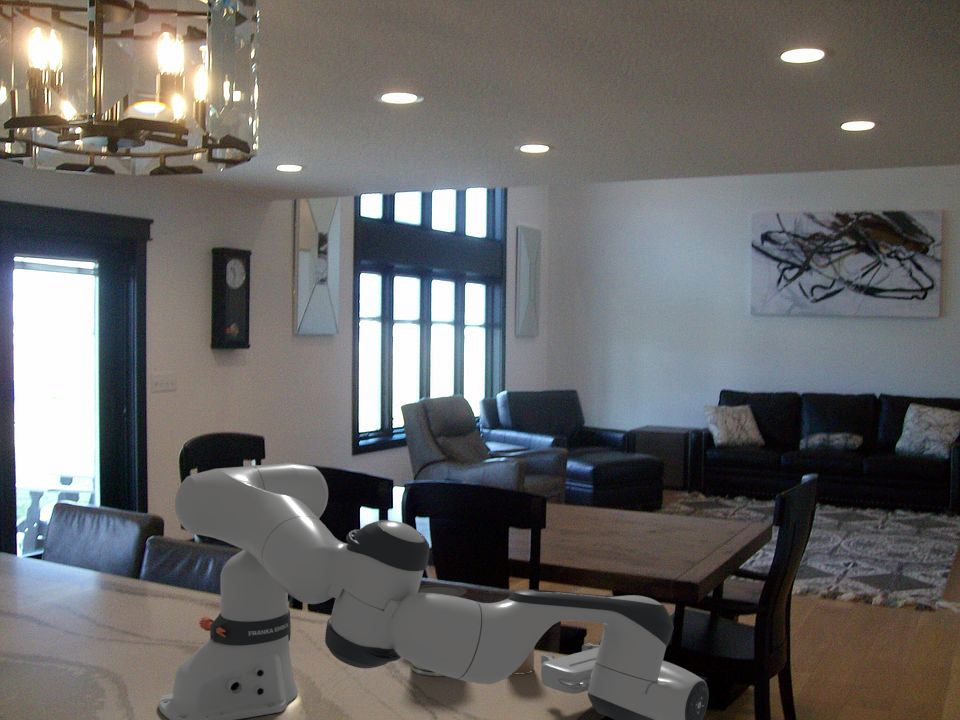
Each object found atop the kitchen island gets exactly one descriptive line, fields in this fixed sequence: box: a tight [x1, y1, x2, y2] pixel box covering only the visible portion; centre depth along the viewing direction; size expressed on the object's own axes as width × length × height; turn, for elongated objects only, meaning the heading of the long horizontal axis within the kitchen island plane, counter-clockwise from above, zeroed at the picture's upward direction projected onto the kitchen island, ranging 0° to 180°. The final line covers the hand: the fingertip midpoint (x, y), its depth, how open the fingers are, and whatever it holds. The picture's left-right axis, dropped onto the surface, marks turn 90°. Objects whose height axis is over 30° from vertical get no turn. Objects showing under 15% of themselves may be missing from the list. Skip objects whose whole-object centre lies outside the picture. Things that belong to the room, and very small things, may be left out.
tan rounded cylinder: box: [514, 646, 535, 673], centre depth 181 cm, size 5×5×11 cm
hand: (564, 653), depth 172 cm, fingers open, 8 cm apart
